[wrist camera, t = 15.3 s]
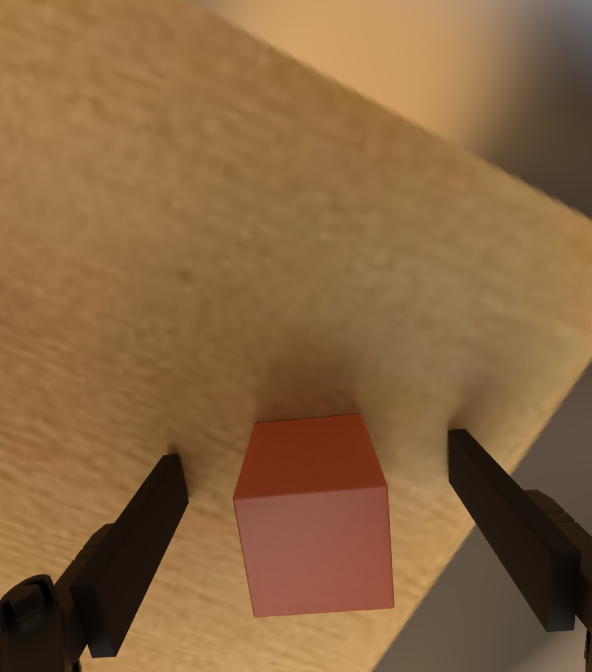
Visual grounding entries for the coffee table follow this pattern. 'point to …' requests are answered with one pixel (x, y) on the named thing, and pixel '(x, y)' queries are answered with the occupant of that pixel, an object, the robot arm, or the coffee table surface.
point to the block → (314, 518)
